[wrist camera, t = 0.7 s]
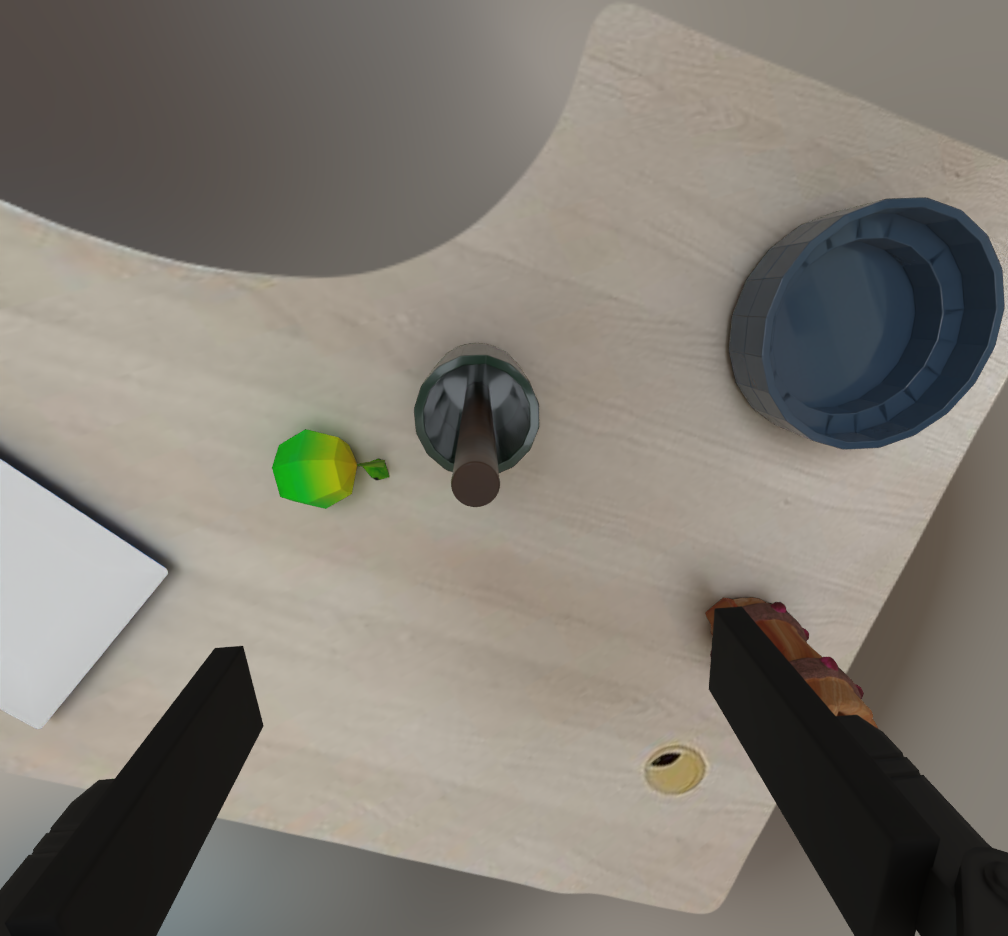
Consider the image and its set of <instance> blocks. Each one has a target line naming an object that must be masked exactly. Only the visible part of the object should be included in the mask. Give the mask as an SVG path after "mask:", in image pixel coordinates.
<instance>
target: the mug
mask: <svg viewBox="0 0 1008 936" xmlns="http://www.w3.org/2000/svg"><path fill="white" fill-rule="evenodd" d="M739 606H742V607H743V609H744V610H745V611H746V612H747V613H748V614H749V616H750V617H751V618H752V619H753V620H754V621H755V623H756V624H757V625H758V626H759V627H760V628H761V630H762V631H763V632H764V633H765V634H766V635H767V637H768V638H769V639H770V640H771V641H772V642H773V644H774V645H775V646H776V647H777V648H778V649H779V651H780V652H781V653H782V654H783V655H784V656H785V658H786V659H787V660H788V661H789V662H790V663H791V665H792V666H793V667H794V668H795V669H796V670H797V672H798V673H799V674H800V675H801V676H802V677H803V679H804V680H805V681H806V682H807V683H808V684H809V686H810V687H811V688H812V689H813V690H814V691H815V693H816V694H817V695H818V696H819V697H820V698H821V700H822V701H823V702H824V703H825V704H826V705H827V707H828V708H829V709H830V710H831V711H832V712H833V714H834V715H835V716H845V715H858V716H860V717H861V718H863V719H864V720H866V721H867V722H869V723H870V724H872V725H873V726H875V727H876V728H878V727H877V725H876V723H875V722H874V720H873V719H872V717H873V714H872V711H871V710H870V709H869V708H868V707H867V706H866V705H865V704H864V702H863V701H862V700H861V699H862V697H863V694H864V693H863V691H862V689H861V687H859V686H858V685H855V684H854V683H853V681H852V680H851V679H850V678H849V677H848V676H847V675H846V674H845V673H844V672H843V671H842V670H841V669H840V668H839V667H838V665H837V663H836V662H835V661H834V659H833V658H831V657H822V656H821V655H819V654H818V653H817V652H816V651H815V650H814V649H812V648H811V647H810V646H809V645H808V644H807V640H808V639H809V633H808V631H807V630H806V629H804V628H802V627H801V625H800V624H799V623H798V622H797V621H796V620H795V619H794V618H793V617H792V616H791V615H790V614H789V613H788V612H787V611H786V607H785V605H784V604H782V603H781V602H775V603H773V604H771V603H767V602H764V601H763V600H761V599H758V598H738V599H729V598H722V599H721V600H720V601H719V602H717V603H716V604H715V605H714V606H713V607H711V608H710V609H709V610H708V611H707V612H706V617H707V619H708V620H709V622H710V624H711V634H712V636H713V624H714V610H715V608H727V607H739ZM711 652H712V650H711ZM710 656H711V654H710Z"/></svg>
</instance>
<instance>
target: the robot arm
mask: <svg viewBox="0 0 1008 936" xmlns="http://www.w3.org/2000/svg"><path fill="white" fill-rule="evenodd" d="M709 690H710V692H711V693H712V695H713V697H714V699H715V700H716V702H717V704H718V705H719V707H720V709H721V710H722V712H723V714H724V716H725V717H726V719H727V721H728V722H729V724H730V726H731V727H732V729H733V731H734V732H735V734H736V736H737V738H738V739H739V741H740V743H741V744H742V746H743V748H744V749H745V751H746V753H747V754H748V756H749V758H750V760H751V761H752V763H753V765H754V766H755V768H756V770H757V771H758V773H759V775H760V776H761V778H762V780H763V782H764V783H765V785H766V787H767V788H768V790H769V792H770V793H771V795H772V797H773V798H774V800H775V802H776V804H777V805H778V807H779V809H780V810H781V812H782V814H783V815H784V817H785V819H786V820H787V822H788V824H789V825H790V827H791V829H792V831H793V832H794V834H795V836H796V837H797V839H798V841H799V843H800V844H801V846H802V847H803V849H804V851H805V853H806V854H807V856H808V858H809V859H810V861H811V863H812V865H813V866H814V868H815V870H816V871H817V873H818V875H819V876H820V878H821V880H822V881H823V883H824V885H825V886H826V888H827V890H828V892H829V893H830V895H831V896H832V898H833V900H834V902H835V903H836V905H837V907H838V908H839V910H840V912H841V914H842V915H843V917H844V919H845V920H846V922H847V924H848V926H849V927H850V929H851V930H852V932H853V934H854V936H915V932H916V930H917V931H918V933H919V934H920V935H921V936H1008V853H1007V852H1004V851H1001V850H997V849H994V848H992V847H991V846H990V845H989V844H987V843H986V842H985V840H983V838H982V837H981V836H980V835H979V834H978V833H977V832H976V831H975V830H974V829H973V828H972V827H971V826H970V824H969V823H968V822H967V821H966V820H965V819H964V818H963V817H962V816H961V815H960V814H959V813H958V812H957V811H956V809H955V808H954V807H953V806H952V805H951V804H950V803H949V802H948V801H947V800H946V799H945V798H944V797H943V796H942V795H941V794H940V792H939V791H938V790H937V789H936V788H935V787H934V786H933V785H932V784H931V783H930V782H929V781H928V780H927V779H926V778H925V776H924V775H920V773H919V770H918V769H917V768H916V767H915V766H914V765H913V764H912V763H911V761H910V760H909V759H908V758H907V757H904V756H903V753H902V752H901V751H900V750H899V749H898V748H897V747H896V745H895V744H894V743H893V742H892V741H891V740H890V739H889V738H888V737H887V736H886V735H885V734H884V733H883V732H882V731H881V730H879V729H878V728H876V727H875V726H873V725H872V724H870V723H869V722H867V721H866V720H864V719H863V718H861V717H860V716H858V715H845V716H835V715H834V714H833V712H832V711H831V710H830V709H829V708H828V707H827V705H826V704H825V703H824V702H823V701H822V700H821V698H820V697H819V696H818V695H817V694H816V693H815V691H814V690H813V689H812V688H811V687H810V686H809V684H808V683H807V682H806V681H805V680H804V679H803V677H802V676H801V675H800V674H799V673H798V672H797V670H796V669H795V668H794V667H793V666H792V665H791V663H790V662H789V661H788V660H787V659H786V658H785V656H784V655H783V654H782V653H781V652H780V651H779V649H778V648H777V647H776V646H775V645H774V644H773V642H772V641H771V640H770V639H769V638H768V637H767V635H766V634H765V633H764V632H763V631H762V630H761V628H760V627H759V626H758V625H757V624H756V623H755V621H754V620H753V619H752V618H751V617H750V616H749V614H748V613H747V612H746V611H745V610H744V609H743V607H742V606H739V607H727V608H715V610H714V624H713V638H712V652H711V665H710V679H709ZM262 728H263V722H262V718H261V714H260V710H259V706H258V702H257V699H256V695H255V691H254V687H253V683H252V679H251V675H250V671H249V667H248V663H247V659H246V656H245V652H244V648H243V646H235V647H223V648H215V649H214V650H213V651H212V653H211V654H210V655H209V656H208V658H207V659H206V660H205V662H204V663H203V664H202V666H201V667H200V668H199V670H198V671H197V672H196V673H195V675H194V676H193V677H192V679H191V680H190V681H189V683H188V684H187V685H186V687H185V688H184V689H183V690H182V692H181V693H180V694H179V696H178V697H177V698H176V700H175V701H174V702H173V704H172V705H171V706H170V707H169V709H168V710H167V711H166V713H165V714H164V715H163V717H162V718H161V719H160V721H159V722H158V723H157V724H156V726H155V727H154V728H153V730H152V731H151V732H150V734H149V735H148V736H147V738H146V739H145V740H144V741H143V743H142V744H141V745H140V747H139V748H138V749H137V751H136V752H135V753H134V754H133V756H132V757H131V758H130V760H129V761H128V762H127V764H126V765H125V766H124V768H123V769H122V770H121V771H120V773H119V774H118V775H117V777H116V778H115V779H106V780H98V781H97V782H96V783H95V784H93V785H92V786H91V787H90V788H89V789H87V790H86V791H85V792H84V793H83V794H81V795H80V796H79V797H78V798H76V799H75V800H74V801H73V802H72V803H71V804H70V805H69V806H68V808H67V809H66V810H65V811H64V812H63V814H62V815H61V816H60V817H59V819H58V820H57V821H56V822H55V823H54V825H53V826H52V827H51V830H50V832H49V833H46V834H45V836H44V837H43V838H42V839H41V841H40V842H39V843H38V844H37V846H36V847H35V848H34V849H33V853H32V855H28V856H27V858H26V859H25V860H24V861H23V863H22V864H21V865H20V866H19V868H18V869H17V870H16V871H15V872H14V874H13V875H12V876H11V877H10V879H9V880H8V881H7V882H6V883H5V885H4V886H3V887H2V888H1V890H0V936H156V935H157V933H158V931H159V929H160V927H161V926H162V923H163V921H164V919H165V918H166V916H167V914H168V912H169V910H170V908H171V906H172V904H173V902H174V900H175V898H176V896H177V894H178V892H179V890H180V888H181V886H182V884H183V882H184V880H185V878H186V876H187V875H188V873H189V871H190V869H191V867H192V865H193V863H194V861H195V859H196V857H197V855H198V853H199V851H200V849H201V847H202V845H203V843H204V841H205V839H206V837H207V835H208V834H209V832H210V830H211V828H212V825H213V824H214V822H215V820H216V818H217V816H218V814H219V812H220V810H221V808H222V806H223V804H224V802H225V800H226V798H227V796H228V794H229V792H230V790H231V788H232V787H233V785H234V783H235V781H236V779H237V777H238V775H239V773H240V771H241V769H242V767H243V765H244V763H245V761H246V759H247V757H248V755H249V753H250V751H251V749H252V747H253V745H254V743H255V741H256V740H257V738H258V736H259V734H260V732H261V730H262Z"/></svg>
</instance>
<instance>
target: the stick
mask: <svg viewBox="0 0 1008 936" xmlns="http://www.w3.org/2000/svg"><path fill="white" fill-rule="evenodd" d="M451 487H452V491H453V494H454V495H455V497H456V498H457V499H458V500H459V501H460V502H461V503H463V504H465V505H467V506H471V507H480V506H484V505H487V504H488V503H490V502H491V501H492V500H494V498H495V497H496V496H497V494H498V492H499V488H500V479H499V470H498V461H497V452H496V443H495V434H494V425H493V416H492V406H491V397H490V391H489V388H488V387H487V386H486V385H485V384H484V383H481V382H474V383H472V384H470V385H469V386H468V387H467V389H466V393H465V399H464V405H463V411H462V418H461V424H460V430H459V437H458V443H457V449H456V455H455V462H454V468H453V474H452V481H451Z"/></svg>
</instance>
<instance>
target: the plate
mask: <svg viewBox="0 0 1008 936" xmlns="http://www.w3.org/2000/svg"><path fill="white" fill-rule="evenodd" d="M167 574H168V572H167V569H166V568H165V567H164V566H163V565H161V564H160V563H158V562H157V561H155V560H154V559H152V558H151V557H149V556H148V555H146V554H145V553H143V552H142V551H140V550H138V549H137V548H135V547H134V546H132V545H131V544H129V543H128V542H126V541H125V540H123V539H122V538H120V537H119V536H117V535H116V534H114V533H113V532H111V531H110V530H108V529H107V528H105V527H104V526H102V525H101V524H99V523H98V522H96V521H95V520H93V519H91V518H90V517H88V516H87V515H85V514H84V513H82V512H81V511H79V510H78V509H76V508H75V507H73V506H72V505H70V504H69V503H67V502H66V501H64V500H63V499H61V498H60V497H58V496H57V495H55V494H54V493H52V492H51V491H49V490H48V489H46V488H45V487H43V486H41V485H40V484H38V483H37V482H35V481H34V480H32V479H31V478H29V477H28V476H26V475H25V474H23V473H22V472H20V471H19V470H17V469H16V468H14V467H13V466H11V465H10V464H8V463H7V462H5V461H4V460H2V459H1V458H0V710H2V711H4V712H6V713H8V714H10V715H11V716H13V717H15V718H17V719H19V720H21V721H22V722H24V723H26V724H28V725H30V726H32V727H34V728H35V729H42V727H43V726H44V725H45V724H46V722H47V721H48V720H49V719H50V718H51V716H52V715H53V714H54V713H55V711H56V710H57V709H58V708H59V707H60V705H61V704H62V703H63V702H64V700H65V699H66V698H67V697H68V696H69V694H70V693H71V692H72V691H73V689H74V688H75V687H76V686H77V685H78V683H79V682H80V681H81V680H82V678H83V677H84V676H85V675H86V674H87V672H88V671H89V670H90V669H91V667H92V666H93V665H94V664H95V662H96V661H97V660H98V659H99V658H100V656H101V655H102V654H103V653H104V651H105V650H106V649H107V648H108V647H109V645H110V644H111V643H112V642H113V640H114V639H115V638H116V637H117V636H118V634H119V633H120V632H121V631H122V629H123V628H124V627H125V626H126V625H127V623H128V622H129V621H130V620H131V618H132V617H133V616H134V615H135V614H136V612H137V611H138V610H139V609H140V607H141V606H142V605H143V604H144V603H145V601H146V600H147V599H148V598H149V596H150V595H151V594H152V593H153V592H154V590H155V589H156V588H157V587H158V585H159V584H160V583H161V582H162V581H163V579H164V578H165V577H166V576H167Z"/></svg>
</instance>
